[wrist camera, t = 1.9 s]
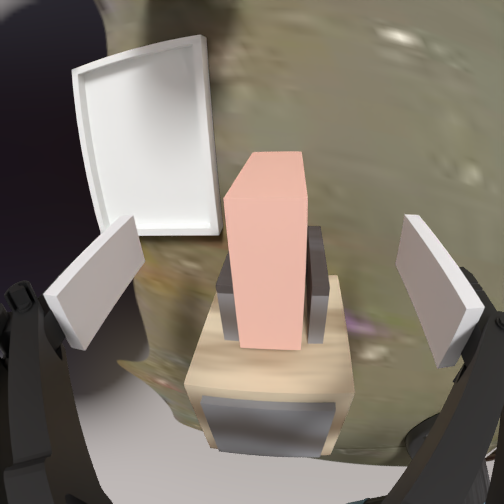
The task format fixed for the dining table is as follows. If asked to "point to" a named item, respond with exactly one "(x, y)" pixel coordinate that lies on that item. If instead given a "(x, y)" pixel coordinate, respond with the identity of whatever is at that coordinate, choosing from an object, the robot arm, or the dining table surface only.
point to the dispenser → (275, 373)
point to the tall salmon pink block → (268, 249)
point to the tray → (151, 138)
